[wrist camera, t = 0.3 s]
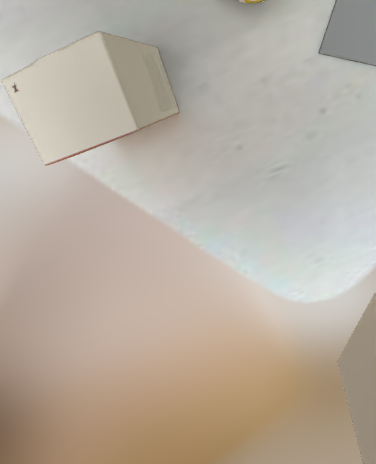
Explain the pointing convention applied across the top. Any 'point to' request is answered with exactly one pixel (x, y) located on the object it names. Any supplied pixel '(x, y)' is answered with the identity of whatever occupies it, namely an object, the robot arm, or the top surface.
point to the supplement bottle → (251, 1)
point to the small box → (90, 94)
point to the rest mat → (352, 31)
